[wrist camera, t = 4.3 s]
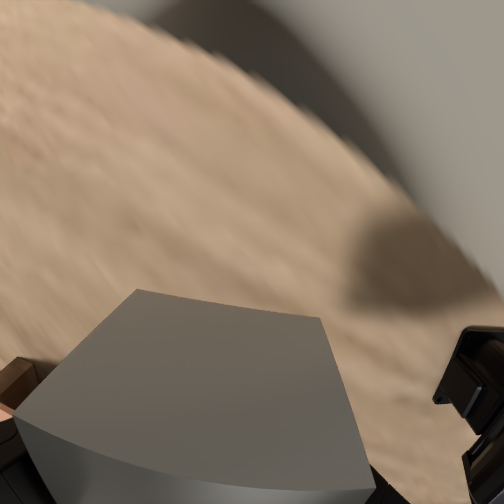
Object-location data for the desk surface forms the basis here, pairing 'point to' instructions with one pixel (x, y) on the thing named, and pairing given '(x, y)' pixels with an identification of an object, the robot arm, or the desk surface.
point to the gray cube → (197, 411)
